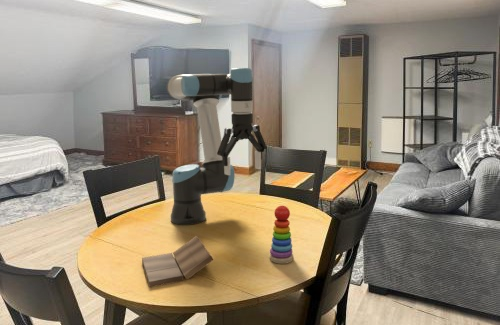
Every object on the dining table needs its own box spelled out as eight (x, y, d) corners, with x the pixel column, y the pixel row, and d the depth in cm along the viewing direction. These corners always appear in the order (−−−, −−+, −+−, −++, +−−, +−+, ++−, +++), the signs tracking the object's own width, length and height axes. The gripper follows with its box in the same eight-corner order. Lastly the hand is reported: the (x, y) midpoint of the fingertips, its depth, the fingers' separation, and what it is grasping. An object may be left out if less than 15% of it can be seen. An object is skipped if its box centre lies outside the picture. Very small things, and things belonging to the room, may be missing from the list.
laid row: (142, 262, 141) (141, 257, 141) (171, 257, 145) (171, 252, 144) (149, 287, 125) (149, 281, 124) (183, 280, 128) (182, 275, 128)
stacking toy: (292, 265, 137) (292, 210, 133) (268, 264, 138) (267, 209, 135) (294, 255, 145) (294, 203, 141) (271, 254, 146) (270, 202, 142)
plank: (175, 256, 145) (172, 252, 144) (199, 239, 147) (196, 235, 146) (187, 279, 129) (183, 275, 128) (213, 259, 130) (210, 255, 130)
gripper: (217, 116, 137) (219, 179, 142) (276, 111, 152) (276, 168, 156) (205, 114, 143) (208, 175, 148) (263, 109, 158) (263, 164, 162)
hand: (243, 171), depth 152 cm, fingers open, 13 cm apart
